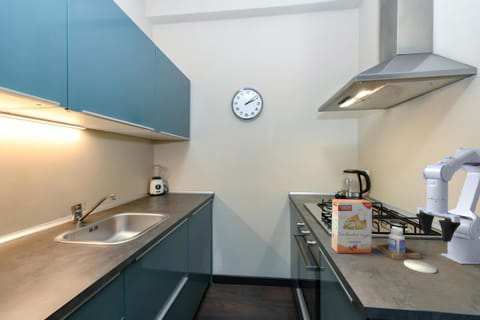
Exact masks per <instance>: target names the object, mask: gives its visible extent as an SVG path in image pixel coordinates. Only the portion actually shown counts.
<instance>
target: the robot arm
mask: <svg viewBox="0 0 480 320" xmlns="http://www.w3.org/2000/svg"><path fill="white" fill-rule="evenodd" d="M460 170H462V171H464V172H466V173H467V174H466V177H465V181H464V183H463V186H462V190H461V192H460V195H459V199H458V201H457V204H456V207H455V208H452V209H449V182H450V181H452V178H453V177H454V176H455V173H456V172H458V171H460ZM422 178H423V179H424V185H425V186H426V187H425V188H426V190H425V191H426V192H425V193H426V196H425V197H426V201H425V203H426V205H425V206H426V207H424V206H416V212H417V213H416V214H415V216H416V217H417V219H418V221H419V223H420V225H421V228H422V232H423V234H424V235H431V234H432V227H433V223H434V222H433V221H434V218H435V217H436V218H440V219H439V220H438V224H439V225H440V228H441V238H442V241H443V242H444V243H445V242H446V243H447V250H446V251H447V253H440V255H441V256H443V257H445V258H447V259H450V260H452V261H454V262H456V263H458V264H460V265H474V264H475V265H479V264H480V216H479V215H477V214H476V213H475V212H476V209H477V205H478V202H479V198H480V147H459V148H458V149H456V152H455V154H454V155H451V156H450V155H448V156H447V155H446V156H444V157H443V159H441V160H438V161H437V162H436V163H434V164H428V165H426V166H424V167H423V170H422Z"/></svg>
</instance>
